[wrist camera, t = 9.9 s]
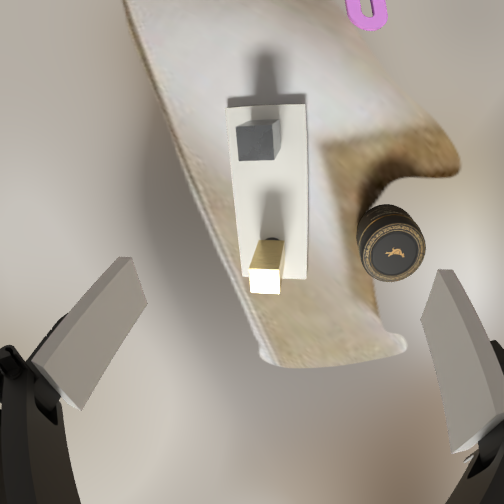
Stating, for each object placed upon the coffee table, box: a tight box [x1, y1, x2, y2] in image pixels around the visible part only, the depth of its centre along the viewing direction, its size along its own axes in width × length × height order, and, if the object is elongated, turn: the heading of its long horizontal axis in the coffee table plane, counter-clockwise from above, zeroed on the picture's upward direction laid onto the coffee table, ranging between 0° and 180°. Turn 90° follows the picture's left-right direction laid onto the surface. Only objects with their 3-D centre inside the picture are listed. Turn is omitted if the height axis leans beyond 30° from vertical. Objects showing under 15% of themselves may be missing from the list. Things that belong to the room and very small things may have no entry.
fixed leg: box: [236, 119, 281, 161], centre depth 33 cm, size 4×4×9 cm
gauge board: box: [225, 104, 308, 279], centre depth 43 cm, size 28×11×2 cm, turn 4°
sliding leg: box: [249, 240, 285, 294], centre depth 42 cm, size 4×4×8 cm
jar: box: [356, 204, 426, 282], centre depth 39 cm, size 10×10×8 cm
